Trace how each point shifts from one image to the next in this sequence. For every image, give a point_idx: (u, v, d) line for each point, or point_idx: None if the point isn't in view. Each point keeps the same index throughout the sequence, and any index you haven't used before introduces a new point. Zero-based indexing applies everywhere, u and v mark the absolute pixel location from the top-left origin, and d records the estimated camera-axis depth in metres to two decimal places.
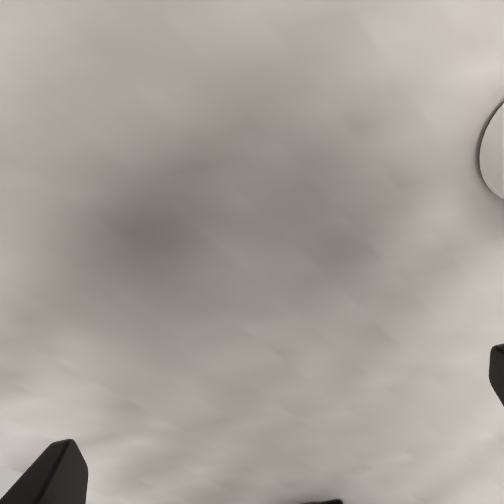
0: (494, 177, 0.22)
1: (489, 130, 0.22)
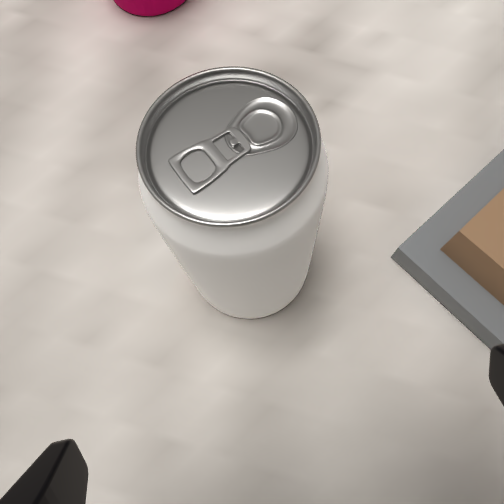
0: (213, 304, 0.22)
1: None
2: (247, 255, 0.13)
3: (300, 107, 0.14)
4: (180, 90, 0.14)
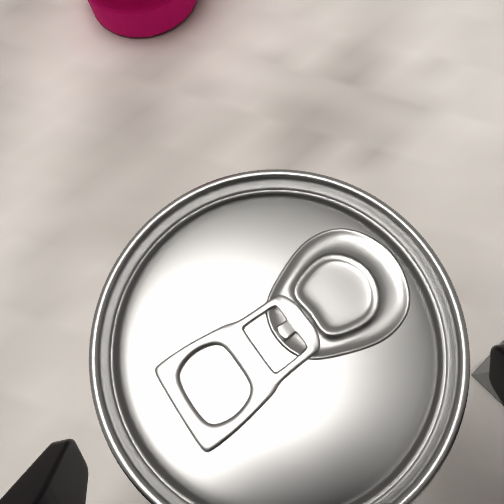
0: None
1: None
2: None
3: (411, 252, 0.07)
4: (179, 211, 0.08)
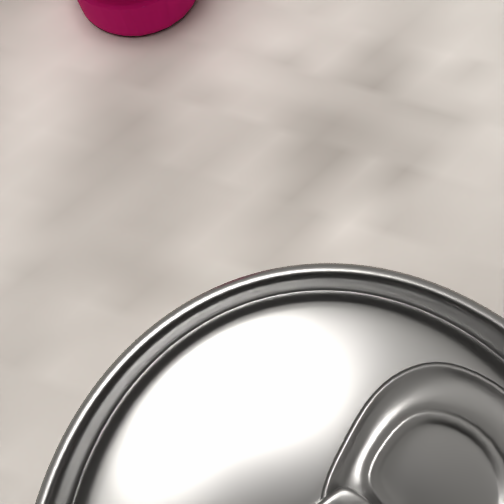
0: None
1: None
2: None
3: None
4: (174, 328, 0.05)
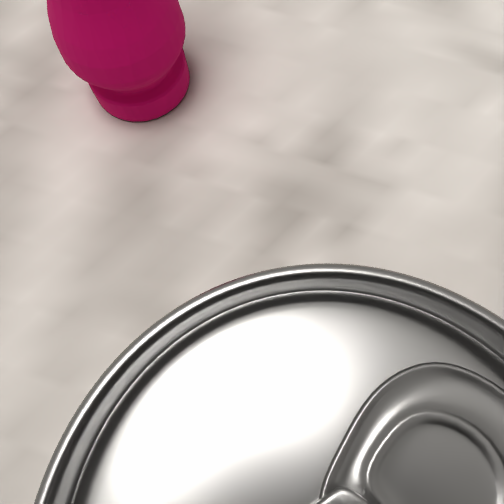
0: None
1: None
2: None
3: None
4: (173, 327, 0.05)
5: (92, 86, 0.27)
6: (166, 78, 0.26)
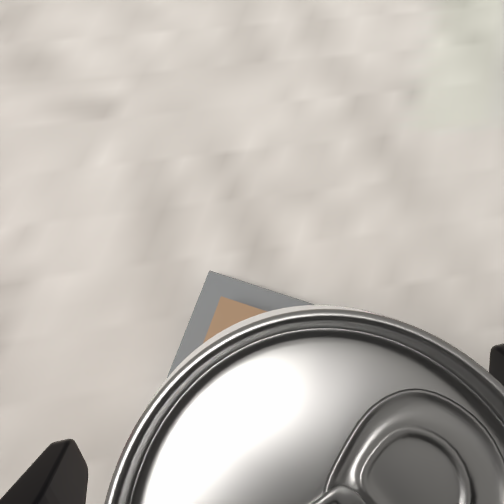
0: None
1: None
2: None
3: None
4: (210, 356, 0.06)
5: None
6: None
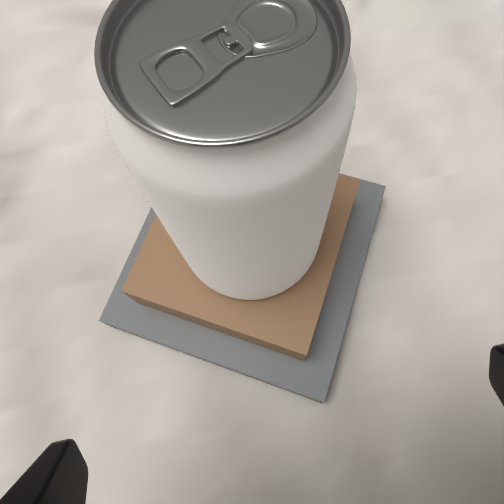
0: (206, 281, 0.18)
1: None
2: (246, 197, 0.10)
3: None
4: None
5: None
6: None
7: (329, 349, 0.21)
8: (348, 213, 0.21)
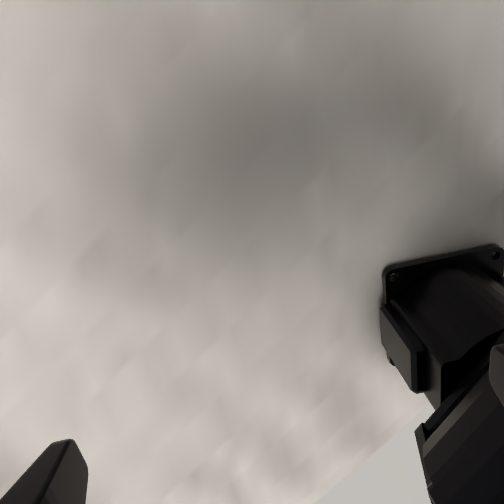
0: None
1: None
2: None
3: None
4: None
5: None
6: None
7: None
8: None
